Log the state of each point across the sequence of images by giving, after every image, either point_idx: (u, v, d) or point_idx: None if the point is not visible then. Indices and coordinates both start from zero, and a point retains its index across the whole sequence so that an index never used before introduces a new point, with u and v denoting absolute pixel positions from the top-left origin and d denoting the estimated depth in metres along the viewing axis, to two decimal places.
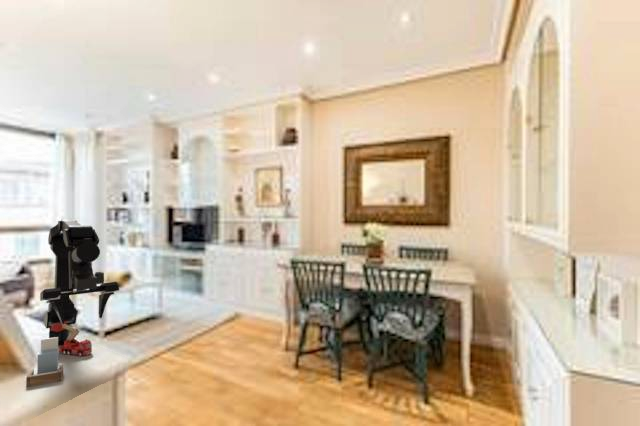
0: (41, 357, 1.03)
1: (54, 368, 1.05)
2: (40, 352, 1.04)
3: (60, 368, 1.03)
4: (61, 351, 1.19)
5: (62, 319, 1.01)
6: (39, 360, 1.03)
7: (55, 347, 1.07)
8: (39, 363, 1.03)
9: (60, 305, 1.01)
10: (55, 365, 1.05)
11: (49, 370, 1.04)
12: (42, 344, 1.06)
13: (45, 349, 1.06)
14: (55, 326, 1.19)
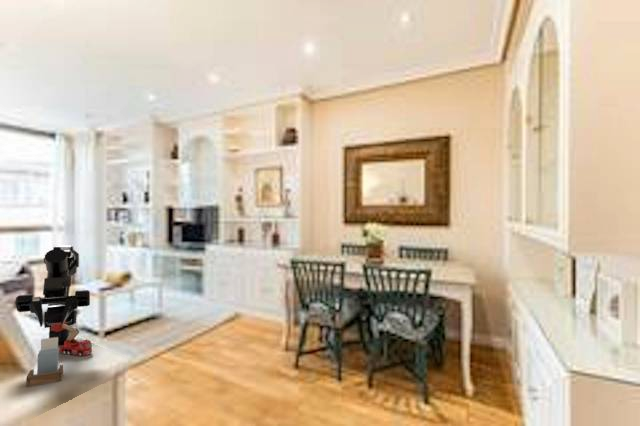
0: (41, 357, 1.03)
1: (54, 368, 1.05)
2: (40, 352, 1.04)
3: (60, 368, 1.03)
4: (61, 351, 1.19)
5: (40, 320, 1.08)
6: (39, 360, 1.03)
7: (55, 347, 1.07)
8: (39, 363, 1.03)
9: (39, 308, 1.10)
10: (55, 365, 1.05)
11: (49, 370, 1.04)
12: (42, 344, 1.06)
13: (45, 349, 1.06)
14: (55, 326, 1.19)
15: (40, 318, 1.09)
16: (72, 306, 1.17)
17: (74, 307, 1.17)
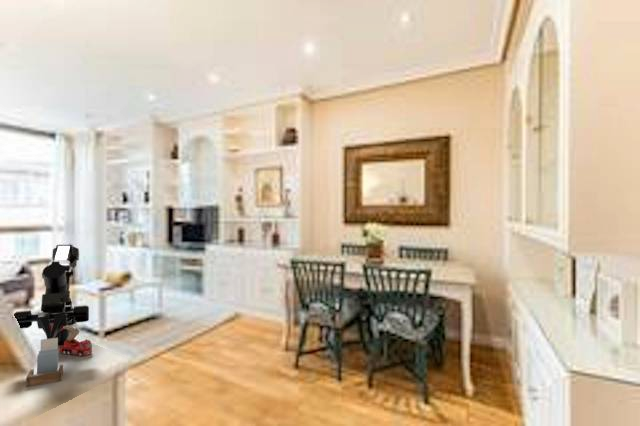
0: (41, 357, 1.03)
1: (54, 369, 1.04)
2: (40, 353, 1.04)
3: (60, 368, 1.03)
4: (61, 351, 1.19)
5: (48, 336, 1.07)
6: (39, 361, 1.02)
7: (55, 348, 1.07)
8: (39, 364, 1.02)
9: (47, 324, 1.09)
10: (55, 366, 1.04)
11: (49, 371, 1.04)
12: (42, 345, 1.05)
13: (45, 350, 1.06)
14: None
15: (48, 334, 1.07)
16: (61, 323, 1.13)
17: (64, 324, 1.13)
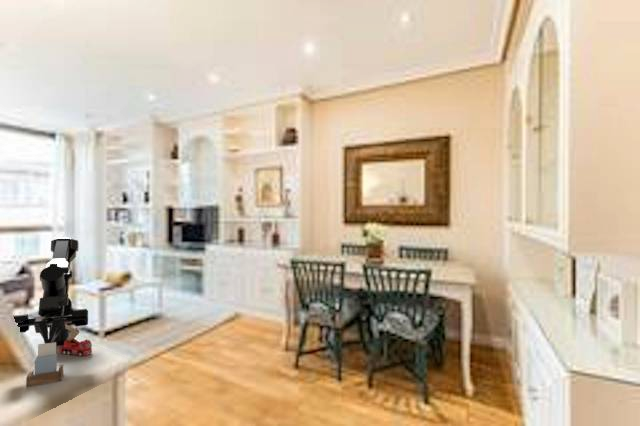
0: (39, 363, 0.99)
1: None
2: (37, 358, 1.00)
3: (60, 368, 1.03)
4: (61, 351, 1.19)
5: (46, 341, 1.03)
6: (36, 366, 0.99)
7: (53, 353, 1.03)
8: (36, 369, 0.99)
9: (45, 328, 1.05)
10: (53, 371, 1.01)
11: None
12: (39, 350, 1.02)
13: (42, 355, 1.02)
14: None
15: (46, 339, 1.04)
16: (60, 327, 1.09)
17: (62, 328, 1.10)
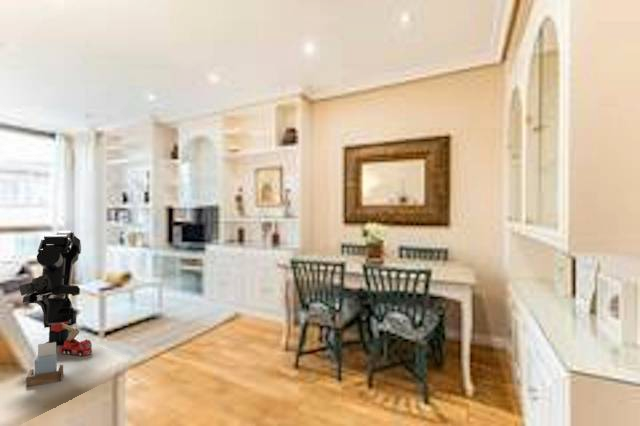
0: (38, 363, 0.99)
1: None
2: (37, 358, 1.00)
3: (60, 368, 1.03)
4: (61, 351, 1.19)
5: (45, 318, 1.12)
6: (36, 366, 0.99)
7: (53, 353, 1.03)
8: (36, 369, 0.99)
9: (43, 306, 1.12)
10: (53, 371, 1.01)
11: None
12: (39, 350, 1.02)
13: (42, 355, 1.02)
14: (55, 326, 1.19)
15: (45, 316, 1.12)
16: (59, 300, 1.14)
17: (62, 300, 1.14)
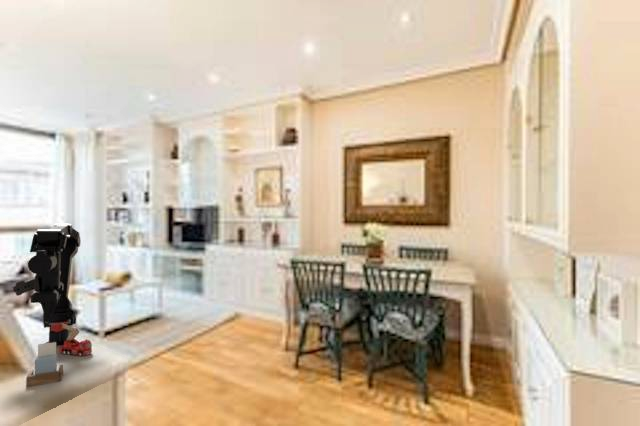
0: (38, 363, 0.99)
1: None
2: (37, 358, 1.00)
3: (60, 368, 1.03)
4: (61, 351, 1.19)
5: None
6: (36, 366, 0.99)
7: (53, 353, 1.03)
8: (36, 369, 0.99)
9: None
10: (53, 371, 1.01)
11: None
12: (39, 350, 1.02)
13: (42, 355, 1.02)
14: (55, 326, 1.19)
15: (44, 312, 1.14)
16: None
17: None
